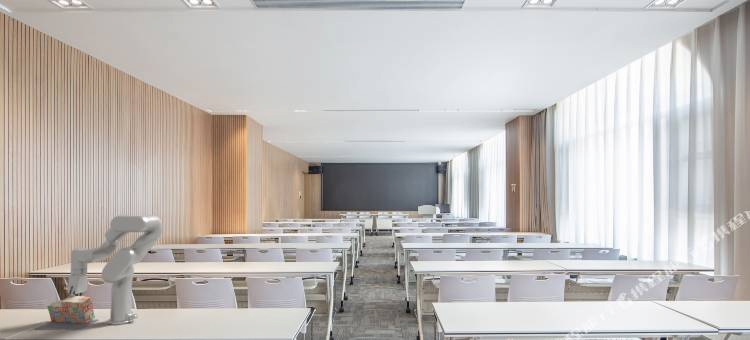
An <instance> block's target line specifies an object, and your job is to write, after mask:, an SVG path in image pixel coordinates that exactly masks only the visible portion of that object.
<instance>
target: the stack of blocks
mask: <svg viewBox="0 0 750 340" xmlns="http://www.w3.org/2000/svg"><path fill="white" fill-rule="evenodd" d="M93 307H94V306H93V301H92V298H91V296H85V295H83V296H74V297H71V295H69V296H68V297H66V298H65V299H63V300H60V299H59V300H58V299H57V300H55V301H53V302H52V303H49V304H48V305H47V311H48V315H49V318H50V322H52V321H55V322H69V323H81V324H86V323H88V322H89V321H90V320H94V318H95V317H96V316H95V313H94V308H93Z"/></svg>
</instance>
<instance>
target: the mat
mask: <svg viewBox="0 0 750 340" xmlns="http://www.w3.org/2000/svg"><path fill="white" fill-rule="evenodd" d="M96 322H99V319H92V320H90V321H89V322H88V323H86V324H81V323H69V322H55V321H50V322H47V323H45V324H43V325H41V326H39V327H38V326H37V327H36V328H35V329H34V330H35V331H36V330H81V329H84V328H85V327H87V326H90V325H92V324H94V323H96Z"/></svg>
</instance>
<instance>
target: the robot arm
mask: <svg viewBox="0 0 750 340" xmlns="http://www.w3.org/2000/svg"><path fill="white" fill-rule="evenodd" d="M109 225H110V228H108V229H107V231H106V232H105V233H104V237H105V238H106V240H105V241H104V242H103V243H102V244H101V245H99V246H98V247H93V248H84V247H81V248H80V247H79V248H73V249H72V250H71V255H70V275H69V278H68V285H67V294H68V295H70V296H71V297H74V296H84V294H85V293H87V291H88V283H89V281H88V280H89V279H88V264H92V263H97V262H100V261H104V260H106V259H107V258H109V256H111V255H112V254H113V253H114V254H113V256H112V257H111V258H110V259H109V261H108V262H107V263H106V264H105V265H104V267H103V269H102V270H101V279H102V280H103V282H105V283H109V284H111V288H110V291H111V292H110V314H109V315H110V317H109V319H107V320H106V324H107V325H111V326H114V325H115V326H116V325H123V324H124V325H125V324H128V323H132V322H134V320H136V319H138V318H139V314H137V313H134V311H132V291H133V289H132V288H133V279H134V276H135V268H134V265H136V264H138V263H140V262H141V261H143V259H144V257H146V255H147V254H148V252H149V251H150V250H151V249H152V248H153V246H154V245H155V244H156V243H157V241H158V240H159V239H160V237H161V236H162V233H163V230H164V229H163V228H164V225H163V222H162V220H161V218H160V217H159V216H157V215H154V214H147V215H146V214H145V215H144V214H143V215H131V214H122V215H121V214H120V215H116V216H114V217H112V219H111V220H110V224H109ZM130 233H142V234H141V235H139V236H138V237H137V238H136V239H135V241H134V242H133V244H131V245H130V246H126V247H122V248H120V249H119V250H117V247H119V243H120V242H121V241H122V240H123V239H124V238H126V236H128V235H129V234H130ZM116 250H117V251H116ZM115 251H116V252H115Z"/></svg>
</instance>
